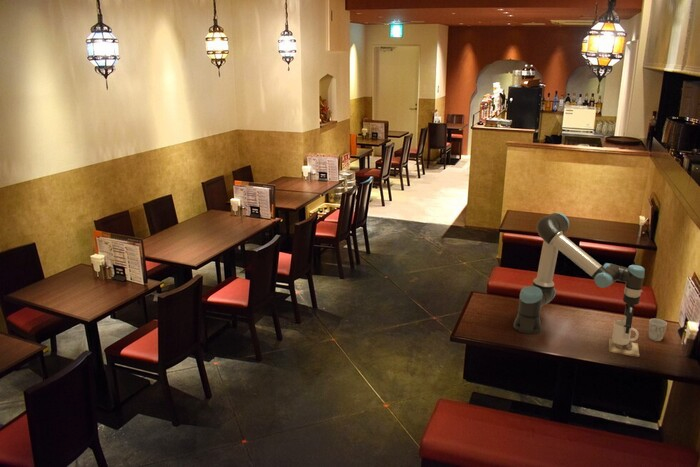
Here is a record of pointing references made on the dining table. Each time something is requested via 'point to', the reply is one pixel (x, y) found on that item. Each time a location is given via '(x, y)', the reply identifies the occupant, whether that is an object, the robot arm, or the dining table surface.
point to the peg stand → (624, 348)
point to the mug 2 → (657, 329)
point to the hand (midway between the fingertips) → (625, 332)
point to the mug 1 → (619, 332)
